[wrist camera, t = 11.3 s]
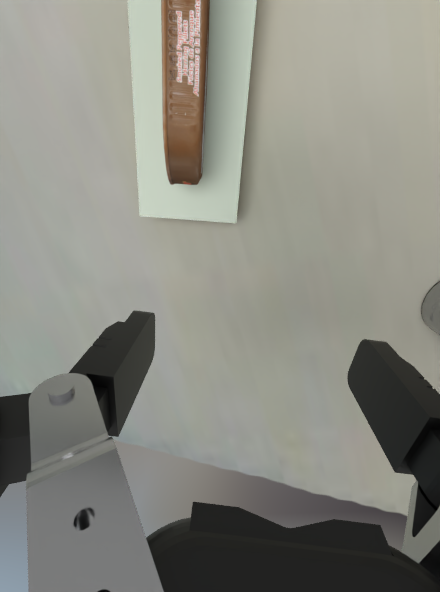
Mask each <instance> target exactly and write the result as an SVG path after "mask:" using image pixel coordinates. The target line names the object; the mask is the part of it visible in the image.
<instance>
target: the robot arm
mask: <svg viewBox="0 0 440 592" xmlns="http://www.w3.org/2000/svg"><path fill="white" fill-rule="evenodd" d="M422 317H423V320H424V322H425V323H426V324H427V325H428V326H429V327H430V328H431V329H432V330H434V331H435V332H436V333H438V334H439V335H440V282H439V283H438V284H436V285H435V286H434V287H433V288H432V289H431V291H430V292H429V293H428V294H427V296H426V298H425V300H424V302H423V305H422ZM154 351H155V315H154V313H151V312H142V311H133V312H132V313H131V315H130V316H129V317H128V319H127V320H126V321H125V322H116V323H115V324H113V325H111V326H109V327H107V328H106V329H105V330H104V332H103V333H102V334H101V335H100V336H99V339H97V340H96V341H95V342H94V343H93V346H91V347H90V348H89V349H88V350H87V352H86V353H85V354H84V355H83V356H82V358H81V359H80V360H79V361H78V362H77V363H76V365H75V366H74V367H73V368H72V369H71V371H70V372H69V373H67V374H61V375H57V376H54V377H52V378H49V379H47V380H46V381H44V382H42V383H41V384H40V385H38V386H37V387H36V388H35V389H34V390H33V392H32V393H28V394H21V395H12V396H4V397H0V497H1V495H2V493H3V492H4V491H5V489H6V488H7V486H8V485H9V484H12V483H17V482H22V481H26V499H27V540H28V579H29V580H28V582H29V592H440V394H439V393H438V392H437V391H436V390H435V389H433V388H432V386H431V385H430V383H429V382H428V381H427V380H424V377H423V376H422V375H421V374H420V373H419V372H418V371H417V370H416V368H415V367H414V366H412V365H411V364H409V363H408V362H406V361H405V360H404V359H402V358H401V357H400V356H399V355H398V354H397V353H396V352H395V351H394V350H393V349H392V347H391V346H390V345H389V344H388V343H386V342H382V341H374V340H366V339H364V340H362V341H361V342H360V344H359V346H358V349H357V351H356V354H355V356H354V359H353V361H352V364H351V366H350V368H349V371H348V385H349V387H350V389H351V391H352V393H353V395H354V397H355V399H356V401H357V402H358V404H359V406H360V408H361V410H362V412H363V414H364V415H365V417H366V419H367V421H368V423H369V425H370V427H371V429H372V430H373V432H374V434H375V436H376V438H377V440H378V442H379V443H380V445H381V447H382V449H383V451H384V453H385V455H386V456H387V458H388V460H389V462H390V464H391V466H392V468H393V470H394V471H395V472H396V473H404V474H412V475H414V476H415V478H416V482H415V483H414V485H413V486H412V490H411V496H410V503H409V510H408V516H407V523H406V530H405V537H404V543H403V547H402V550H401V552H400V551H399V550H397V549H395V548H393V547H391V546H389V545H388V543H387V541H386V538H385V536H384V533H383V531H382V528H381V526H380V525H375V524H367V523H358V522H351V521H343V520H335V519H333V520H329V521H325V522H319V523H315V524H310V525H306V526H301V527H296V528H286V527H283V526H280V525H278V524H276V523H274V522H271V521H269V520H267V519H264V518H262V517H260V516H258V515H255V514H253V513H250V512H248V511H246V510H244V509H241V508H239V507H231V506H223V505H215V504H206V503H199V502H193V506H192V514H191V518H186V519H181V520H178V521H175V522H172V523H170V524H168V525H166V526H164V527H162V528H160V529H158V530H157V531H155V532H154V533H152V534H151V535H149V536H148V537H147V538H146V536H145V533H144V530H143V527H142V524H141V521H140V518H139V515H138V512H137V509H136V506H135V503H134V500H133V497H132V494H131V491H130V488H129V485H128V482H127V479H126V476H125V473H124V470H123V466H122V464H121V461H120V458H119V455H118V451H117V448H116V445H115V443H114V440H113V438H112V437H109V436H116V437H118V436H119V434H120V432H121V430H122V427H123V425H124V423H125V421H126V418H127V416H128V414H129V412H130V410H131V407H132V405H133V403H134V401H135V398H136V396H137V394H138V392H139V389H140V387H141V385H142V383H143V381H144V378H145V376H146V374H147V372H148V369H149V367H150V365H151V363H152V360H153V356H154Z"/></svg>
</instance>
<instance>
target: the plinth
mask: <svg viewBox="0 0 440 592" xmlns="http://www.w3.org/2000/svg"><path fill="white" fill-rule="evenodd" d="M256 4H257V0H210V13H209V46H208V77H207V99H206V117H205V136H204V157H203V173H202V178H201V179H200V181H199V183H198V184H197V185H187V184H174V185H171V184H170V182H169V180H168V176H167V171H166V163H165V153H164V140H163V112H162V32H161V27H162V25H161V0H128V18H129V36H130V54H131V71H132V89H133V107H134V125H135V143H136V161H137V178H138V196H139V214H140V216H145V217H158V218H171V219H185V220H198V221H211V222H225V223H236V220H237V210H238V199H239V188H240V177H241V166H242V155H243V145H244V134H245V123H246V112H247V101H248V91H249V80H250V69H251V58H252V47H253V36H254V26H255V15H256Z"/></svg>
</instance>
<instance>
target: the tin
mask: <svg viewBox="0 0 440 592" xmlns="http://www.w3.org/2000/svg"><path fill="white" fill-rule="evenodd" d="M209 13H210V0H161V25H162V27H161V32H162V112H163V140H164V153H165V163H166V171H167V176H168V180H169V182H170V184H171V185H174V184H187V185H197V184H198V183H199V181H200V179H201V178H202V173H203V157H204V136H205V117H206V99H207V77H208V46H209Z"/></svg>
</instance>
